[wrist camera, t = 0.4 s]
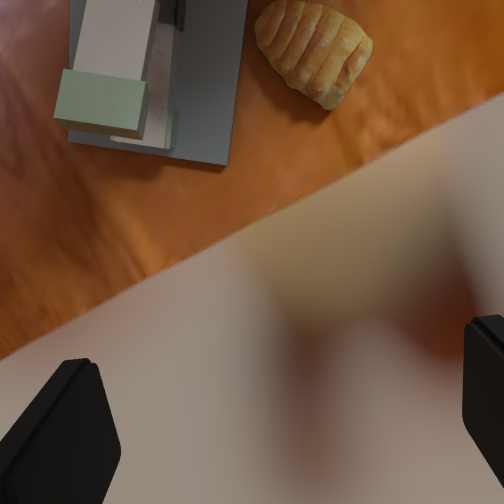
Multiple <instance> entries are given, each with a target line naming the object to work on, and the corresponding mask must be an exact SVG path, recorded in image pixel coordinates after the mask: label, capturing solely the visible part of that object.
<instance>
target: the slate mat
mask: <svg viewBox="0 0 504 504" xmlns="http://www.w3.org/2000/svg"><path fill="white" fill-rule="evenodd" d="M86 2H87V0H70V14H69V70H73V66H74V61H75V57H76V52H77V47H78V42H79V37H80V32H81V27H82V22H83V17H84V12H85V7H86ZM247 8H248V0H186V10H185V21H184V33H183V32H181V39H180V51H179V62H178V74H177V86H176V98H175V109H174V110H179V118H178V129H177V140H176V146H175V147H173V148H171V149H166V148H158V147H151V146H144V145H138V144H131V143H125V142H118V141H113V140H110V137H111V136H110V135H103V134H96V133H90V132H83V131H77V130H70V129H68V142H73V143H80V144H87V145H93V146H100V147H107V148H113V149H120V150H126V151H133V152H140V153H146V154H153V155H160V156H166V157H173V158H180V159H186V160H193V161H199V162H206V163H213V164H219V165H226V166H227V164H228V157H229V149H230V142H231V134H232V126H233V118H234V110H235V102H236V94H237V86H238V78H239V71H240V63H241V55H242V47H243V39H244V31H245V23H246V15H247Z"/></svg>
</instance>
